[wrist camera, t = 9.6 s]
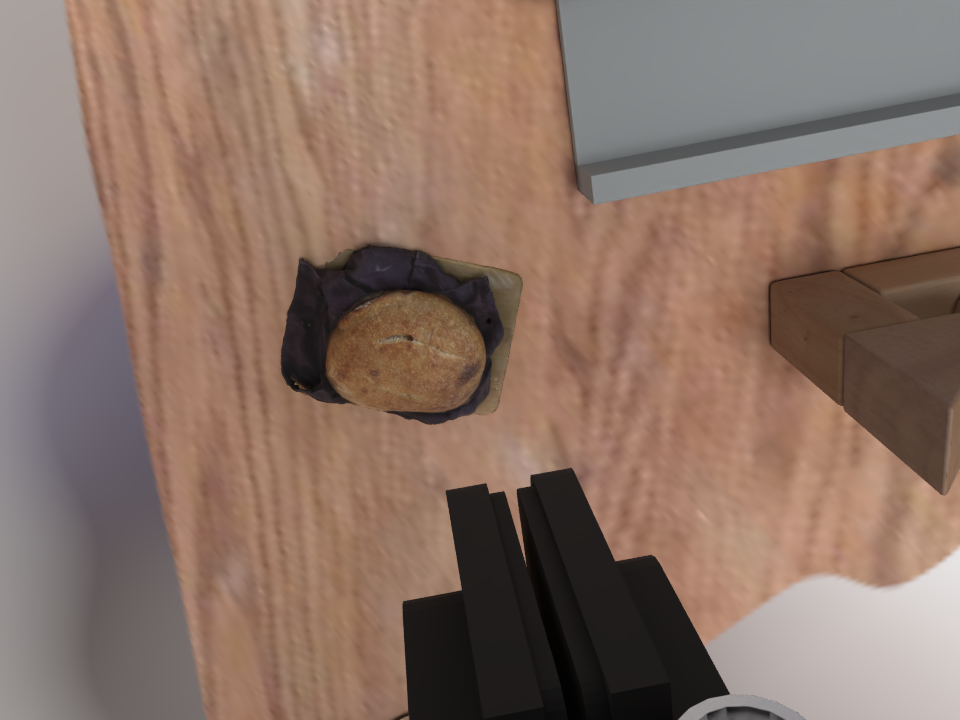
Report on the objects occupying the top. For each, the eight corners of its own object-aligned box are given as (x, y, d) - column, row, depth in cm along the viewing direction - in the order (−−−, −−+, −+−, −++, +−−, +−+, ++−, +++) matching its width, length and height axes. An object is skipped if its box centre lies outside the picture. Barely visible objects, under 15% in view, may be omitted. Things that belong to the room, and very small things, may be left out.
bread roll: (526, 261, 41) (541, 285, 37) (492, 422, 44) (503, 457, 40) (297, 226, 39) (290, 247, 35) (277, 396, 42) (269, 431, 38)
